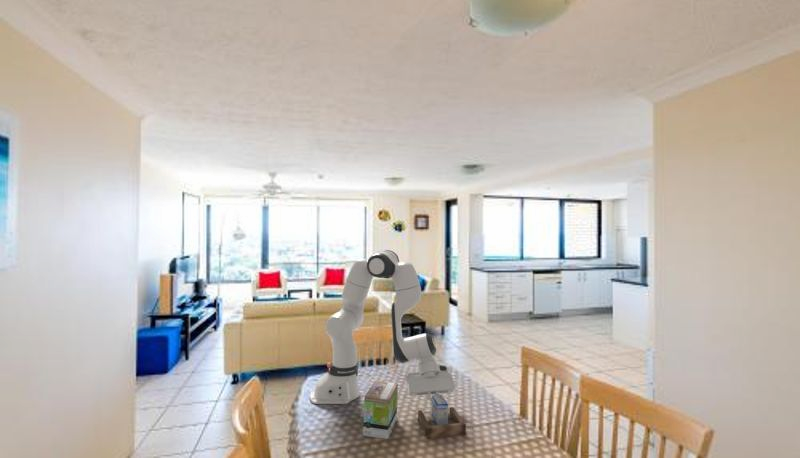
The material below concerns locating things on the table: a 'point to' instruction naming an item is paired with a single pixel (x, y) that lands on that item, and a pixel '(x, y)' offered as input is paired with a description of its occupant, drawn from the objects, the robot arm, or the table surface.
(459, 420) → the display bay
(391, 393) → the tea box
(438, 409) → the medicine box
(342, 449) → the table surface
